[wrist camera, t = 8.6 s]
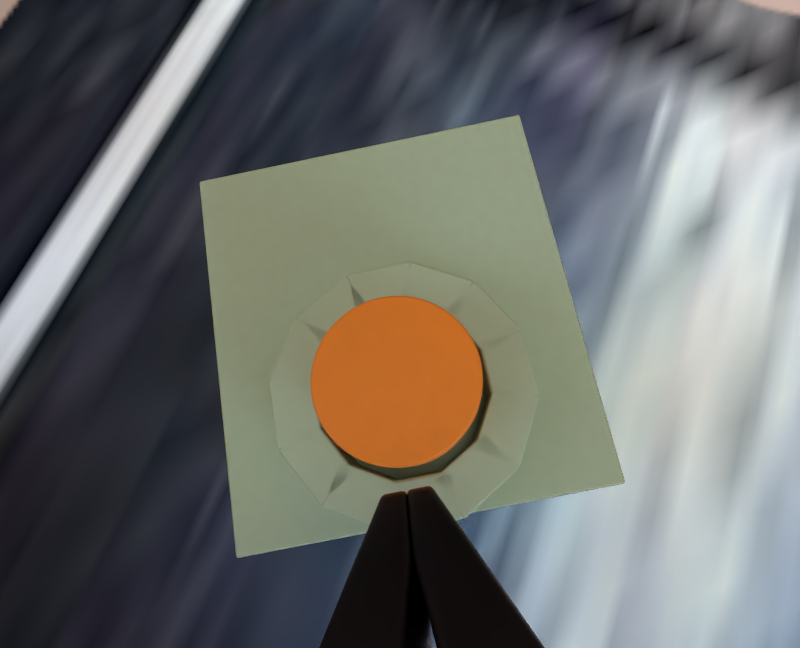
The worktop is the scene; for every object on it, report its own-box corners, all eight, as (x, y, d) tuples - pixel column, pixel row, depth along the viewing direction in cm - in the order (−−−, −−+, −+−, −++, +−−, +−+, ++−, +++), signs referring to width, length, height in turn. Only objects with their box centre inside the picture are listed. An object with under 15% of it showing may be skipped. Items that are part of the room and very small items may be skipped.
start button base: (579, 478, 20) (650, 485, 13) (287, 535, 20) (208, 570, 13) (502, 191, 23) (528, 76, 16) (251, 242, 23) (173, 150, 16)
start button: (492, 451, 14) (501, 448, 12) (340, 481, 14) (323, 483, 12) (459, 305, 15) (462, 279, 13) (318, 334, 15) (298, 312, 13)
